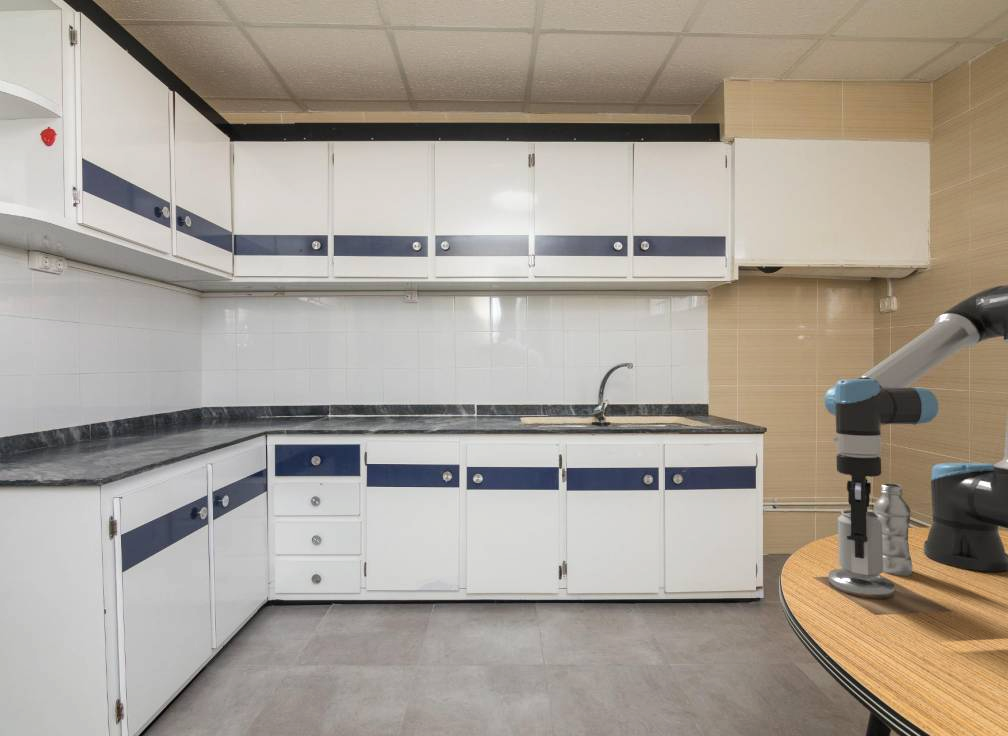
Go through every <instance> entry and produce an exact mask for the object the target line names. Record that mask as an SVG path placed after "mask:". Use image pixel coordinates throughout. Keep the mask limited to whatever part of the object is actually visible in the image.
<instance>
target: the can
mask: <svg viewBox="0 0 1008 736" xmlns="http://www.w3.org/2000/svg"><path fill="white" fill-rule="evenodd" d="M840 512H841V515H839V517H837V541H838V542H837V543H838V565H839V566H840V567H841V569H844V570H845V571H846V572H848V573H850V574H853V575H857V576H862V577H876V576H878V575H881V574H882V573H884V572H883V541H882V523H881V522H880V521H879V520H878V519H877V518H878V515H876V514H875V513H874V512H871V511H868V510H867V511H866V528H867V539H868V540H867V541H868V575H865V574H859V573H854V572H852V566H851V540H848V539H847V536H850V535H851V509H844V510H842V511H840ZM856 534H859V533H856Z"/></svg>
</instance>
